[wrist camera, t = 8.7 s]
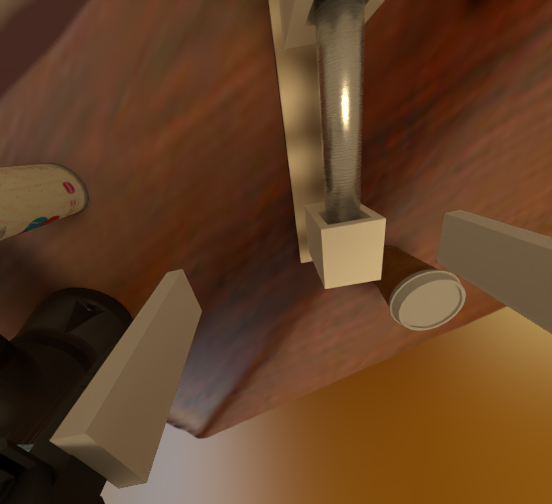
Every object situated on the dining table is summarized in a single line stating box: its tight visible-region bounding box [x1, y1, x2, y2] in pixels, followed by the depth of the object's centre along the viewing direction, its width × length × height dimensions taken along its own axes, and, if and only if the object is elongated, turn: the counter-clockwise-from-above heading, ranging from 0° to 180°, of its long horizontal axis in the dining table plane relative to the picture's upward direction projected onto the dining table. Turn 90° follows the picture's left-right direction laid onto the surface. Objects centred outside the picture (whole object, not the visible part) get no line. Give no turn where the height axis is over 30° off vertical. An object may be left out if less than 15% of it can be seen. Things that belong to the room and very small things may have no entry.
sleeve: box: [304, 202, 386, 289], centre depth 29 cm, size 8×7×11 cm
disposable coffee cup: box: [375, 246, 466, 330], centre depth 33 cm, size 10×10×12 cm
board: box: [268, 0, 325, 263], centre depth 28 cm, size 37×10×1 cm, turn 9°
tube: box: [314, 0, 365, 225], centre depth 21 cm, size 24×4×4 cm, turn 9°
